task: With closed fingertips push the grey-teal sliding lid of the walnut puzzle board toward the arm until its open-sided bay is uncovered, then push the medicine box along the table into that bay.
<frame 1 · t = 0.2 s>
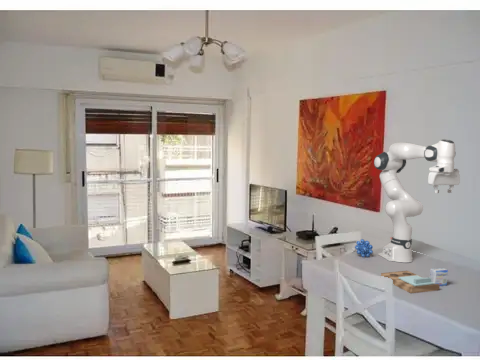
hand: (443, 192, 250), 48 cm above the table, fingers open, 8 cm apart
lid: (416, 278, 232), point 5 cm above the table, slide at 0.0 cm
medicine box: (437, 285, 238), on the table
puzzle board: (408, 284, 237), on the table
grapes: (363, 258, 286), on the table
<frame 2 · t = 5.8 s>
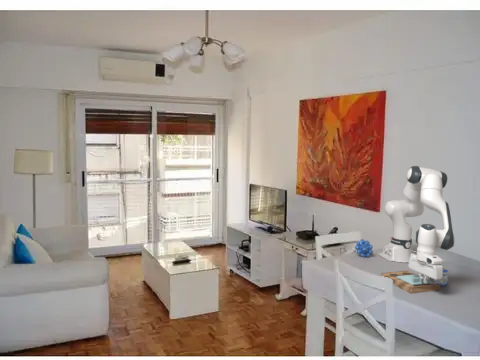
hand: (423, 282, 227), 4 cm above the table, fingers closed
lid: (414, 277, 234), point 5 cm above the table, slide at 1.6 cm, touching gripper
everything else where it was.
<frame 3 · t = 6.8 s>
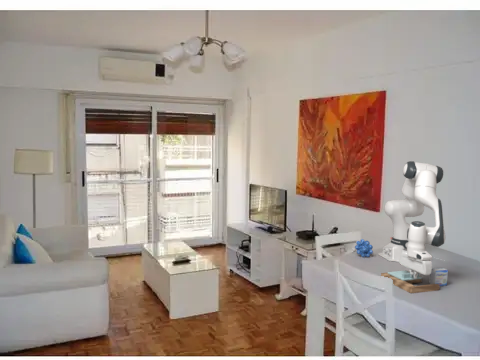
hand: (413, 277, 234), 4 cm above the table, fingers closed
lid: (404, 273, 240), point 5 cm above the table, slide at 8.7 cm, touching gripper
everything else where it was.
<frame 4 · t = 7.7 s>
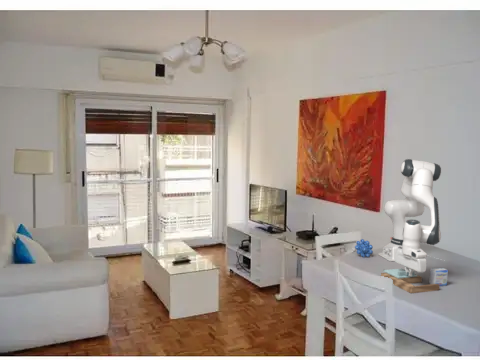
hand: (408, 275, 237), 5 cm above the table, fingers closed
lid: (400, 271, 244), point 5 cm above the table, slide at 12.4 cm, touching gripper
everything else where it was.
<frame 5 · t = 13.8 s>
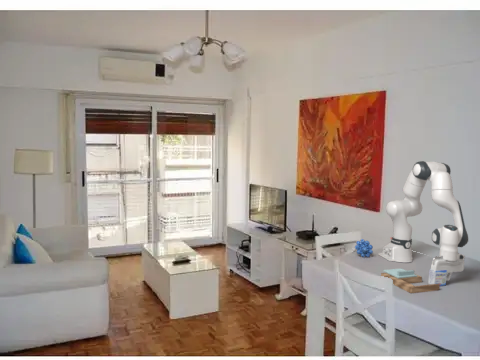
hand: (446, 280, 239), 2 cm above the table, fingers closed
lid: (400, 271, 244), point 5 cm above the table, slide at 12.5 cm
medicine box: (436, 285, 237), on the table, touching gripper
everything else where it was.
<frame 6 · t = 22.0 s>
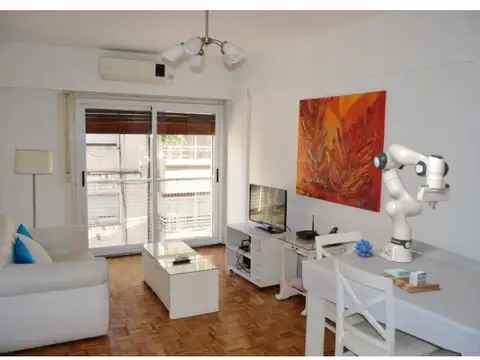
hand: (432, 209, 245), 39 cm above the table, fingers closed
medicine box: (416, 288, 231), resting in puzzle board
everything else where it was.
at the end: lid slide at 12.5 cm; medicine box inside the target area on the puzzle board (2.1 cm from its centre), point 0.0 cm above the puzzle board's base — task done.
